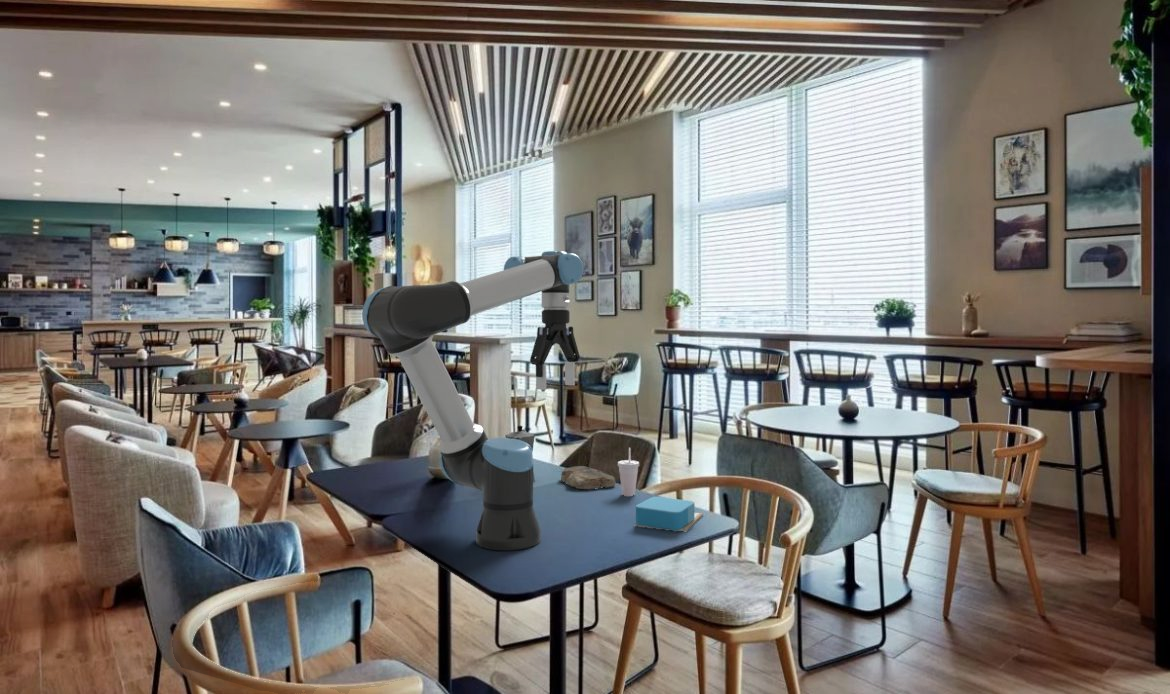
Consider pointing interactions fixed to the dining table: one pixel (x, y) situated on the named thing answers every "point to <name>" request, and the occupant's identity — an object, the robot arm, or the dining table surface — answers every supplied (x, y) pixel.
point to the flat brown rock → (586, 478)
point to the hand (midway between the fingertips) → (556, 387)
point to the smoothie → (628, 475)
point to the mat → (696, 517)
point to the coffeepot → (523, 438)
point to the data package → (665, 513)
